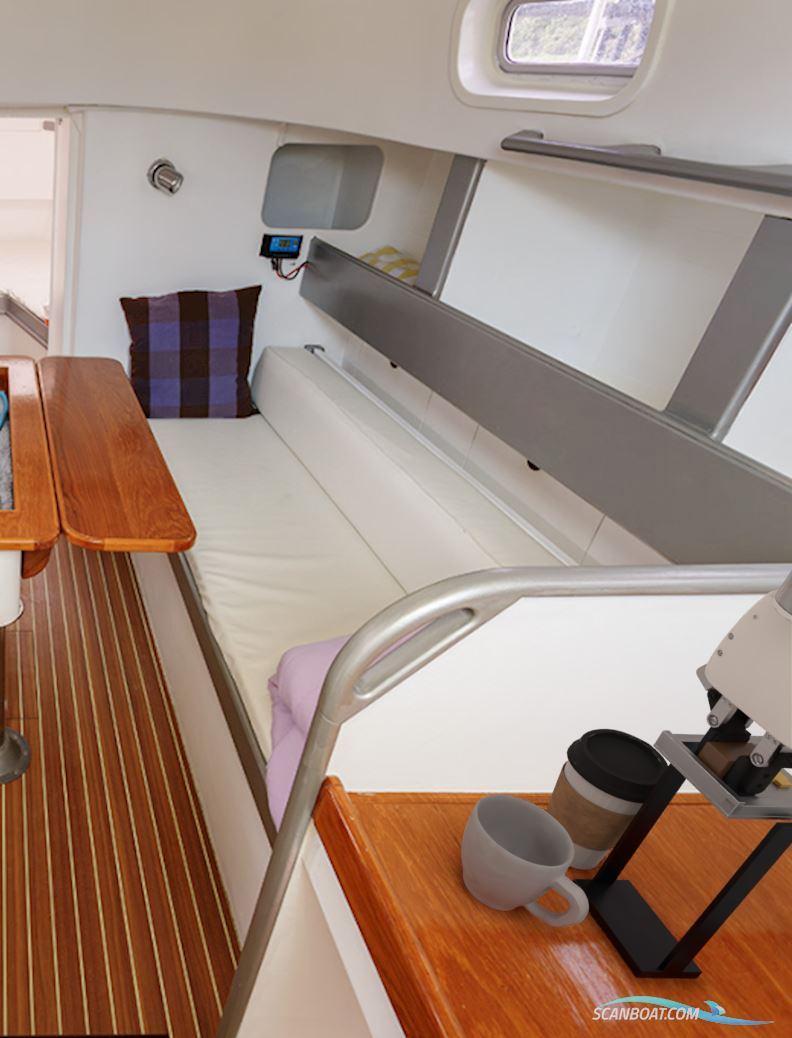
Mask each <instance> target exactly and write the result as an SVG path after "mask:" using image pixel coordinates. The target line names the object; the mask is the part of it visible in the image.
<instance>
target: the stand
mask: <svg viewBox="0 0 792 1038" xmlns="http://www.w3.org/2000/svg"><path fill="white" fill-rule="evenodd" d="M686 780H687V779H686V778H685V777H684V776H683V775H682V774H681V773H680V772H679V771H678V770H677V769H676V768H675V767H674V766H673V765H672V764H671V763H670V762H669V764H668V767H667V769H666V770H665V772H664V773H663V775H662V776H661V778H660V779H659V781H658V782H657V784H656V785H655V787H654V788H653V790H652V791H651V793H650V794H649V796H648V797H647V799H646V800H645V802H644V803H643V805H642V806H641V808H640V809H639V810H638V812H637V813H636V815H635V816H634V818H633V819H632V821H631V822H630V824H629V825H628V827H627V828H626V830H625V831H624V833H623V834H622V836H621V837H620V839H619V840H618V842H617V843H616V845H615V846H614V847H613V848H611V850H610V851H609V854H608V855H607V857H606V858H605V859H604V861H603V863H602V864H601V866H600V867H599V868H598V870H597V872H596V873H595V874H594V876H593V878H573V880H571V881H572V882H573V883H575V884H576V885H577V886H578V887H580V888H581V889H582V890H583V892H584V893H585V895H586V897H587V899H588V904H589V911H588V913H589V914H590V916H591V917H592V918H593V920H594V921H595V923H596V924H597V925H598V927H599V928H600V930H601V931H602V932H603V934H604V935H605V936H606V938H607V939H608V941H609V942H610V943H611V945H612V947H614V949H615V951H616V952H617V954H618V955H619V956H620V957H621V959H622V960H623V961H624V963H625V965H627V967H628V969H629V970H630V971H631V973H632V974H633V975H634V977H635V978H636V979H675V980H676V979H681V980H682V979H683V980H684V979H687V980H697V979H698V978H699V977H700V976H701V975H702V973H703V971H702V970H701V968H700V967H699V966H698V964H697V963H696V962H695V960H694V959H695V958H696V957H697V955H698V954H699V953H700V952H701V951H702V949H703V948H704V947H705V946H706V945H707V943H708V942H709V941H710V940H711V939H712V938H713V936H715V934H716V933H717V932H718V930H720V928H721V927H722V926H723V925H724V924H725V922H726V921H727V920H728V919H729V918H730V917H731V916H732V914H733V913H734V912H735V911H736V910H737V908H738V907H739V906H740V905H741V904H742V903H743V901H744V900H745V899H746V898H747V896H748V895H749V894H750V893H751V892H752V891H753V890H754V888H756V886H757V885H758V884H759V883H760V881H761V880H762V879H763V878H764V877H765V876H766V875H767V873H768V872H769V871H770V870H771V869H772V867H773V866H774V865H775V864H776V863H777V862H778V860H779V859H780V858H781V857H782V856H783V854H784V853H785V852H786V851H787V850H788V849H789V847H790V846H791V845H792V822H784V821H777V822H775V823H774V825H773V826H772V827H771V828H770V830H769V831H768V832H767V833H766V834H765V836H764V837H763V838H762V839H761V840H760V842H759V843H758V844H757V846H756V847H755V848H754V849H753V850H752V852H751V853H750V854H749V855H748V857H746V859H745V860H744V861H743V863H741V865H740V866H739V867H738V869H737V870H736V871H735V872H734V874H733V875H732V876H731V877H730V879H729V880H728V881H727V882H726V883H725V885H724V886H723V887H722V888H721V889H720V891H718V893H717V894H716V895H715V897H714V898H713V899H712V900H711V901H710V903H709V904H708V906H706V908H705V909H704V910H703V912H702V913H701V914H700V915H699V916H698V917H697V919H695V921H694V923H693V924H692V925H691V926H690V927H689V928H688V929H687V931H686V932H685V933H684V935H683V936H682V937H681V938H680V939H679V941H678V939H677V938H676V937H675V935H674V934H673V933H672V932H671V930H669V928H668V927H667V925H666V924H665V923H664V922H663V921H662V920H661V918H660V916H658V914H657V913H656V912H655V911H654V909H653V908H652V907H651V905H650V904H649V903H648V902H647V900H646V899H645V898H644V897H643V895H641V893H640V892H639V891H638V890H637V888H636V886H635V885H633V883H632V882H631V881H630V879H618V878H619V876H620V875H621V874H622V872H623V871H624V869H625V868H626V866H627V865H628V863H629V862H630V861H631V859H632V858H633V856H634V855H635V853H636V852H637V851H638V850H639V848H640V846H641V845H642V843H643V842H644V840H645V839H646V838H647V836H648V835H649V833H650V832H651V830H652V829H653V828H654V826H655V825H656V823H657V822H658V820H659V819H660V818H661V816H662V815H663V813H664V812H665V811H666V809H667V808H668V806H669V805H670V803H671V801H672V800H673V799H674V797H675V796H676V795H677V793H678V791H679V790H680V789H681V787H682V786H683V785H684V783H685V781H686Z"/></svg>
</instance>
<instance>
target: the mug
mask: <svg viewBox="0 0 792 1038" xmlns="http://www.w3.org/2000/svg"><path fill="white" fill-rule="evenodd" d="M460 854H461V855H460V858H461V859H460V860H461V867H462V880H463V883H464V885H465V887H466V889H467V890H468V892H469V893H470V894H471V895H472V896H473V898H474V899H476V900H477V901H478V902H480V903H481V904H483V905H485V906H486V907H489V908H491V909H493V910H497V911H504V912H508V911H513V910H514V909H516V908H518V907H524V908H525V909H526V910H527V911H528V912H529V913H530V914H531V915H533V916H534V917H535V918H537V919H538V920H539V921H541V922H543V923H544V924H546V925H548V926H550V927H554V928H567V927H572V926H573V927H574V926H577V925H579V924H581V923H582V922H583V921H584V920H585V919H586V917H587V916H588V913H589V904H588V899H587V897H586V895H585V893H584V892H583V890H582V889H581V888H580V887H578V886H577V885H576V884H575V883H573V882H572V881H573V880H571V879H570V878H569V877H567V875H566V873H567V871H568V869H569V867H570V864H571V862H572V860H573V858H574V846H573V843H572V840H571V838H570V836H569V834H568V833H567V831H566V830H565V829H564V827H563V826H562V825H561V824H560V823H559V822H558V821H557V820H556V819H555V818H554V817H553V816H551V815H550V814H549V813H547V812H546V810H545V809H543V808H541V807H540V806H538V805H536V804H535V803H533V802H530V801H528V800H525V799H523V798H520V797H517V796H515V795H510V794H502V793H501V794H500V793H499V794H497V793H496V794H489V795H486V796H483V797H481V798H480V799H479V800H478V801H477V802H476V804H475V805H474V807H473V809H472V811H471V812H470V815H469V817H468V820H467V822H466V825H465V829H464V831H463V835H462V839H461V849H460ZM551 889H553V890H554V892H556V893H558V894H559V895H560V896H561V897H563V899H565V900H566V901H567V902H568V904H569V907H568V909H566V911H564V912H562V913H558V912H553V911H550V910H548V909H546V908H545V907H543V906H542V905H540V904H539V903H538V902H537V900H538V899H539V898H541V897H542V896H544V895H545V894H547V892H549V891H550V890H551Z"/></svg>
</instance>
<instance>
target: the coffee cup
mask: <svg viewBox="0 0 792 1038" xmlns="http://www.w3.org/2000/svg"><path fill="white" fill-rule="evenodd" d="M566 758H567V760H566V761H565V762H564V763H563V765H562V767H561V769H560V771H559V775H558V777H557V779H556V783H555V785H554V787H553V790H552V793H551V795H550V798H549V801H548V804H547V806H546V809H545V811H546V812H547V813H549V814H550V815H551V816H553V817H554V818H555V819H556V820H557V821H558V822H559V823H560V824H561V825H562V826H563V827H564V829H565V830H566V831H567V833H568V834H569V836H570V838H571V840H572V843H573V846H574V858H573V860H572V862H571V864H570V866H569V867H570V868H573V869H577V870H582V871H583V870H591V869H594V868H596V867H597V866H598V865H599V864H600V862H601V861H602V860H603V859H604V858H605V857H606V855H607V854H608V853H610V852H611V850H612V849H613V848H614V846H615V845H616V843H617V842H618V840H619V839H620V837H621V836H622V834H623V833H624V831H625V830H626V828H627V827H628V825H629V824H630V822H631V821H632V819H633V818H634V816H635V815H636V813H637V812H638V810H639V809H640V808H641V806H642V805H643V803H644V802H645V800H646V799H647V797H648V796H649V794H650V793H651V791H652V790H653V788H654V787H655V785H656V784H657V782H658V781H659V779H660V778H661V776H662V775H663V773H664V772H665V770H666V769H667V767H668V766H669V764H668V762H667V759H666V758H665V757H664V756H663V755H662V754H661V753H660V752H659V751H658V750H657V749H656V748H655V747H654V746H653V745H652V744H650V743H649V742H647V741H645V740H643V739H641V738H640V737H637V736H635V735H632V734H630V733H627V732H625V731H622V730H618V729H612V728H598V729H591V730H588V731H586V732H585V733H583V734H582V735H581V737H580V738H578V739H575V740H574V741H573V742H572V743H571V744H570V745H569V746H568V747H567V750H566Z"/></svg>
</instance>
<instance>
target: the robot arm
mask: <svg viewBox="0 0 792 1038" xmlns="http://www.w3.org/2000/svg"><path fill="white" fill-rule="evenodd" d="M695 674H696V676H697V678H698V680H699V681H700V683H701V685H702V687H703V688H704V691H707V692H706V697H707V701H708V706H709V710H710V711H709V713H708V714H707V715H706V723H707V724H708V726H709V728H708V729H707V731H706V732H705V734H704V735H705V736H704V737H703V738H702V740H701V741H700V743H699V744H698V748H697V749H696V751H695V752H694V754H695V755H696V756H698V754H699V753H700V752H701V750H702V749H703V747H704V746H705V744H706V743H707V742H738V743H748V741H749V740H750V736H753V735H752V733H751V732H750V731H749V730H748V729H749V728H750V727H751V725H752V724H753V723H756V724H757V725H758V726H759V727H761V729H763V730H764V731H765V732H764V734H763V735H762V736H763V737H762V738H761V740H760V741H759V743H758V744H757V746H756V747H755V748H754V750H753V751H752V753H751V755H741V756H739V757H738V758H737V759H736V761H735V763H734V764H733V766H732V767H731V768H730V770H729V771H728V772H727V774H726V775H725V776H724V778H723V779H722V781H723V782H724V783H725V784H726V785H727V786H728V787H730V788H731V789H732V790H733V791H734V792H735V793H736V794H759V793H762V792H763V791H764V790H765V789H766V788H767V787H768V785H769V784H770V783H771V782H772V780H773V779H774V778H775V777H776V775H777V774H778V773H779V772H780V770H781V769H782V768H784V769H790V770H791V769H792V570H790V572H789V574H787V577H786V578H785V579H784V581H783V582H782V584H781V586H779V589H775V590H771V591H769V592H767V593H766V594H765V595H764V596H763V597H762V598H759V600H757V602H756V603H755V604H753V605H752V606H751V607H750V608H749V609H748V610H746V612H745V613H744V614H743V615H742V616H741V617H740V619H738V621H737V622H735V624H734V625H733V627H731V629H730V630H729V631H728V633H726V635H725V636H724V637H723V638H722V640H721V641H720V642H719V644H718V646H717V647H716V648H715V649H714V651H713V652H712V654H711V656H710V658H709V660H708V661H707V663H705V664H703V665H700V666H699V667H698V668H697V669H696V671H695Z"/></svg>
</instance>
